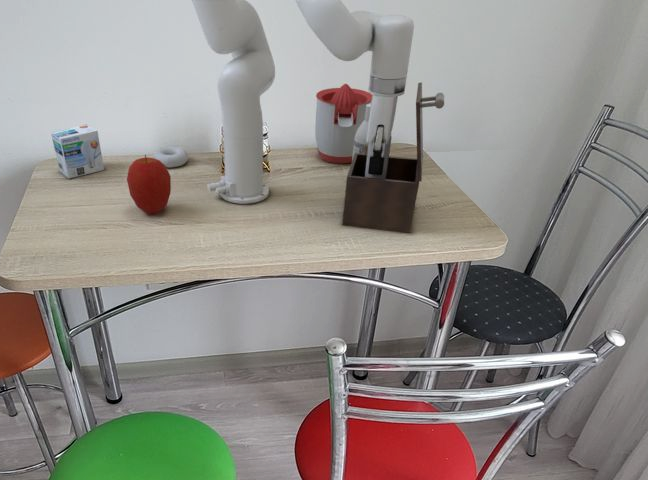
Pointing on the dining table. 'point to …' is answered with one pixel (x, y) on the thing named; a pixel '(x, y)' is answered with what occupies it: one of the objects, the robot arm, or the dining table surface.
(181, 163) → the donut
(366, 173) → the beverage can
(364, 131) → the bath foam
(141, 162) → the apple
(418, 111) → the lid
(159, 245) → the dining table surface
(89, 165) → the light bulb box
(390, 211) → the chest
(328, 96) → the citrus juicer
